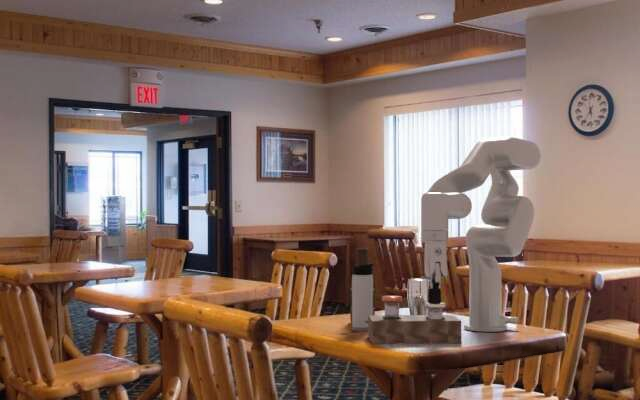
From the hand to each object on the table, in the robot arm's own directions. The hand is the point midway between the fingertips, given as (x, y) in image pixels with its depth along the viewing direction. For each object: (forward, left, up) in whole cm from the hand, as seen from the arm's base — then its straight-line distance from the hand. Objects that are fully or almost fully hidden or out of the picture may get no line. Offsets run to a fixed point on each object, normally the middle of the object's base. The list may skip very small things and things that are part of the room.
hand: (434, 303), depth 210 cm
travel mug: (+18, -19, -10) cm, 28 cm away
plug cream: (0, 0, -8) cm, 8 cm away
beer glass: (+1, -20, -10) cm, 22 cm away
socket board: (+6, 0, -10) cm, 12 cm away
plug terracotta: (+12, 0, -6) cm, 13 cm away
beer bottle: (+17, -34, -10) cm, 39 cm away
